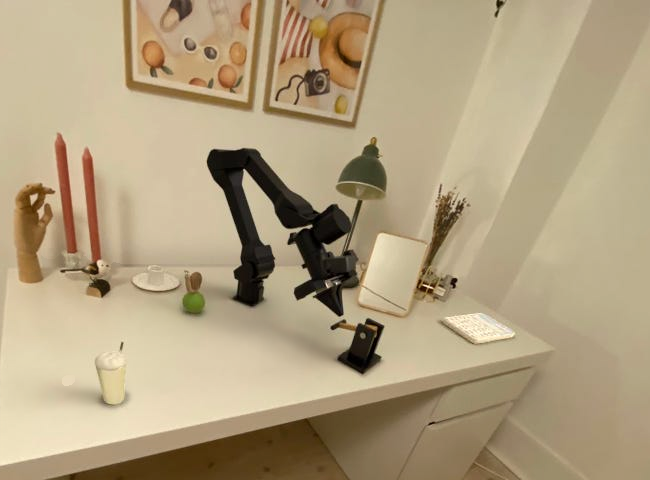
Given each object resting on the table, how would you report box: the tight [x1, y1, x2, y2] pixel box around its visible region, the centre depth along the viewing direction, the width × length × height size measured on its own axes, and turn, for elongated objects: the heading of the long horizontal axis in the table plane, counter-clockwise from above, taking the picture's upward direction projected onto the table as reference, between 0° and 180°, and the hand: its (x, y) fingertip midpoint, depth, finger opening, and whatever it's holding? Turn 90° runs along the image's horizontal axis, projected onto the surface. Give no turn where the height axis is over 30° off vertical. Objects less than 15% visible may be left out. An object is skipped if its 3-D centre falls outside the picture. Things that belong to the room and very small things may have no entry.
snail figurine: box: [181, 269, 206, 314], centre depth 90 cm, size 5×6×12 cm
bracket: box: [337, 317, 385, 375], centre depth 86 cm, size 7×9×10 cm
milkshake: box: [94, 341, 127, 406], centre depth 62 cm, size 4×5×10 cm
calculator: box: [441, 312, 516, 345], centre depth 116 cm, size 13×20×2 cm, turn 118°
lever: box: [329, 319, 377, 337], centre depth 87 cm, size 10×6×2 cm, turn 51°
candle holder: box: [132, 264, 181, 292], centre depth 102 cm, size 12×12×4 cm
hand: (341, 316), depth 88 cm, fingers closed
